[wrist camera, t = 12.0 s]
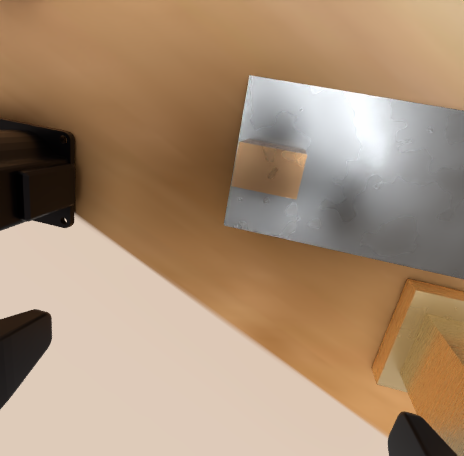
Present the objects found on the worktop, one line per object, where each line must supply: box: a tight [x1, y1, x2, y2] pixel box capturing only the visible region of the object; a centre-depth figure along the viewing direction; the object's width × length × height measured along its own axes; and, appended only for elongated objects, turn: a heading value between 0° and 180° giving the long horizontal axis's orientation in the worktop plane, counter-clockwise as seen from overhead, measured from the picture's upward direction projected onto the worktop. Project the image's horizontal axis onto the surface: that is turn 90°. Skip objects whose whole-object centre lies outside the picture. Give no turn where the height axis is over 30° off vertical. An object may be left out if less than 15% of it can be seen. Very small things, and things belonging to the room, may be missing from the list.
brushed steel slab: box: [224, 75, 464, 279], centre depth 16 cm, size 16×8×5 cm, turn 80°
